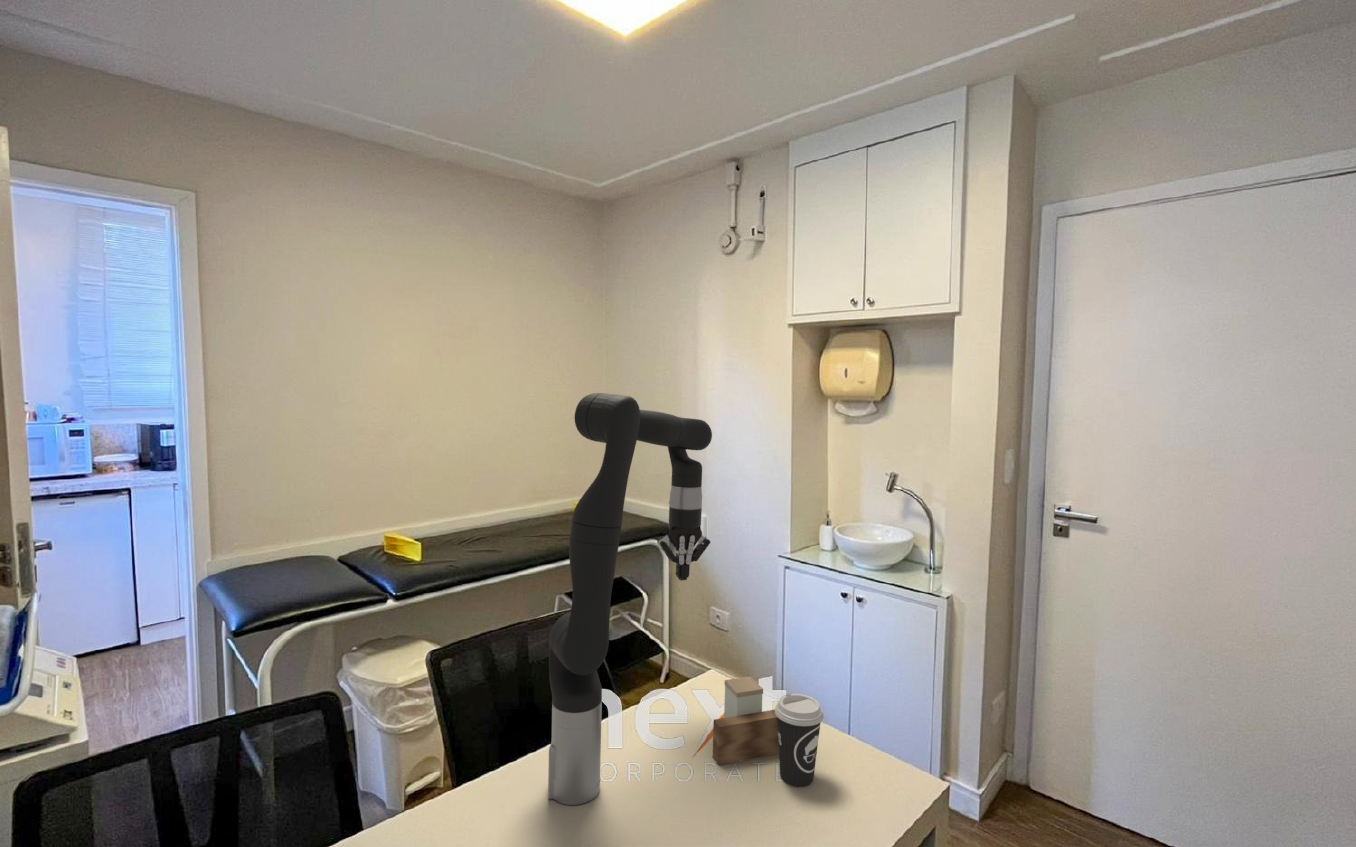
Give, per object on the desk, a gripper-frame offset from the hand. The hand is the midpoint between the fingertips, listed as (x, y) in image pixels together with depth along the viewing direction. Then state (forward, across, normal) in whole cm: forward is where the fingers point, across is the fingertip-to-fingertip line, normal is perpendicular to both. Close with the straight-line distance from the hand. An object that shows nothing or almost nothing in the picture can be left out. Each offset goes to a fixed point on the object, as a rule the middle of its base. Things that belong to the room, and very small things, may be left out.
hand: (682, 579), depth 145 cm
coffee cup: (+32, +14, -29) cm, 46 cm away
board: (+32, +9, -19) cm, 39 cm away
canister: (+32, +10, -15) cm, 37 cm away
